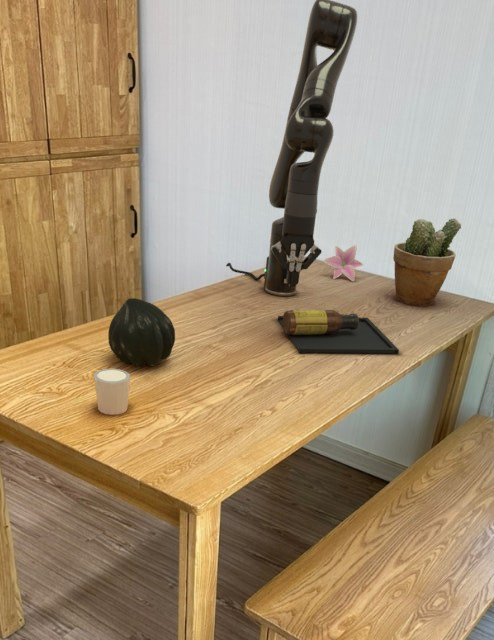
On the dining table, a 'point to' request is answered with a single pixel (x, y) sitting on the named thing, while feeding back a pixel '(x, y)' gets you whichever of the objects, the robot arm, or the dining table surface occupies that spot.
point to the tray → (346, 341)
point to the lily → (344, 262)
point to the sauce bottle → (317, 322)
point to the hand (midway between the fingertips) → (291, 285)
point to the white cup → (112, 390)
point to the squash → (141, 333)
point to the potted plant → (423, 262)
